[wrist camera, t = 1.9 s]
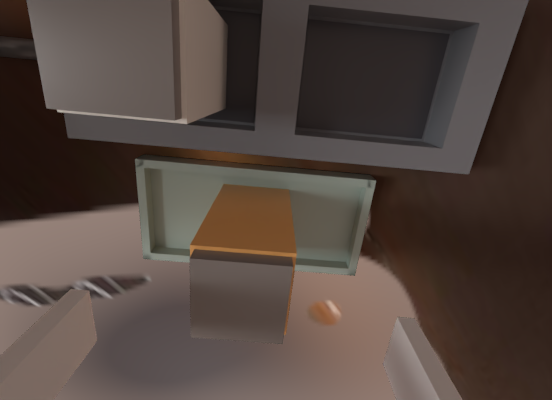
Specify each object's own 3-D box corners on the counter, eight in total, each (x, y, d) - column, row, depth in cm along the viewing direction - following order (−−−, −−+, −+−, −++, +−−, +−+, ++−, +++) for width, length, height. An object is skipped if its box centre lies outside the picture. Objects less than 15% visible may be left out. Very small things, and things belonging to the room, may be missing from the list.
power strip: (11, 123, 21) (-30, 128, 18) (-29, -48, 17) (-88, -74, 15) (444, 163, 22) (468, 174, 19) (491, 9, 18) (530, -5, 16)
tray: (150, 249, 25) (143, 258, 23) (143, 154, 22) (134, 158, 20) (350, 265, 25) (354, 275, 24) (370, 174, 22) (376, 180, 21)
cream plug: (152, 101, 20) (41, 113, 11) (147, 17, 18) (8, -59, 9) (225, 108, 20) (180, 126, 11) (227, 25, 18) (176, -41, 9)
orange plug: (222, 241, 24) (186, 340, 15) (223, 183, 22) (184, 254, 13) (282, 246, 24) (286, 347, 15) (289, 189, 22) (298, 263, 13)
